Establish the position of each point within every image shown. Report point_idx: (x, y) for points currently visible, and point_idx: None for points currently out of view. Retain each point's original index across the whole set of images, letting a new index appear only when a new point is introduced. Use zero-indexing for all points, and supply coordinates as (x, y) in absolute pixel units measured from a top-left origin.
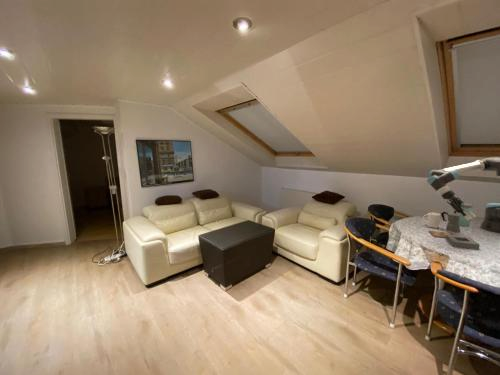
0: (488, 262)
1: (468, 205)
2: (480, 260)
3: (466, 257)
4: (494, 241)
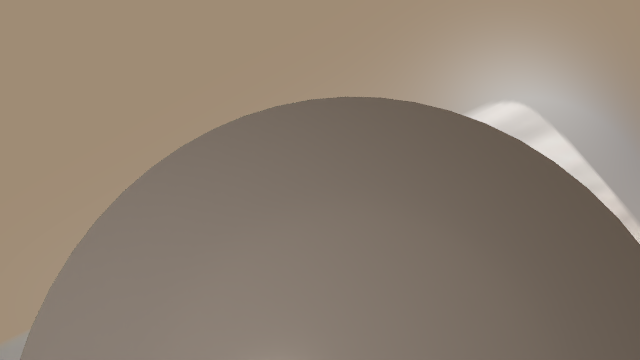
0: (527, 120)
1: (530, 154)
2: (554, 152)
3: (619, 211)
4: (8, 348)
